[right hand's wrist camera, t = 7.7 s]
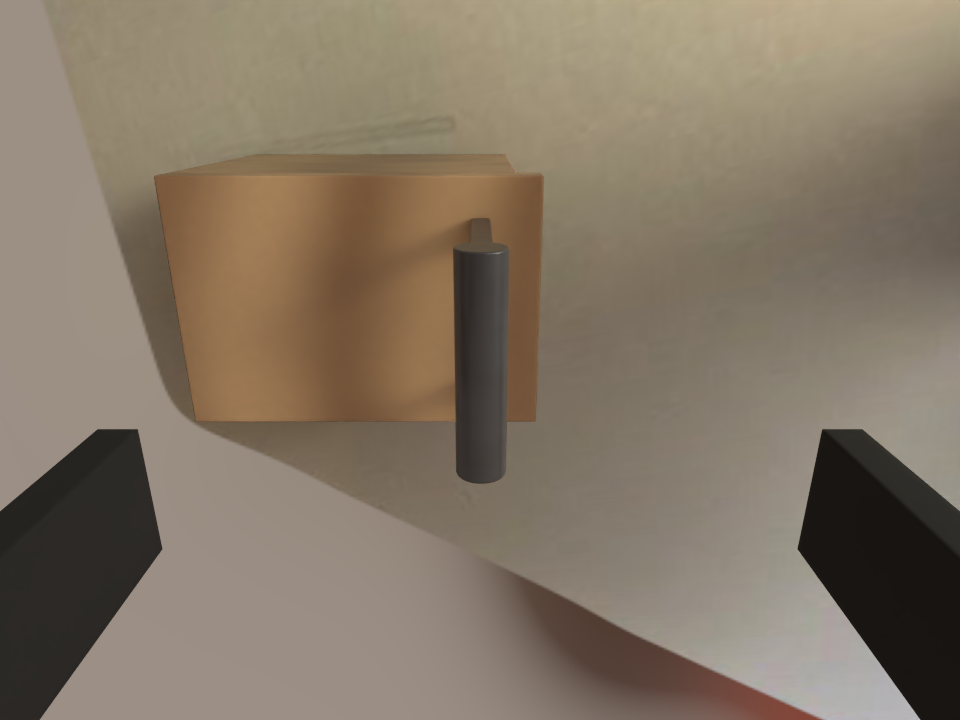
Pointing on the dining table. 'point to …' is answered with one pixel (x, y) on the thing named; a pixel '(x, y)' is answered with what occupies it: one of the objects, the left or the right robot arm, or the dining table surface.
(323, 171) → the cabinet
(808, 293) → the dining table surface
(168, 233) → the wooden door with handle
